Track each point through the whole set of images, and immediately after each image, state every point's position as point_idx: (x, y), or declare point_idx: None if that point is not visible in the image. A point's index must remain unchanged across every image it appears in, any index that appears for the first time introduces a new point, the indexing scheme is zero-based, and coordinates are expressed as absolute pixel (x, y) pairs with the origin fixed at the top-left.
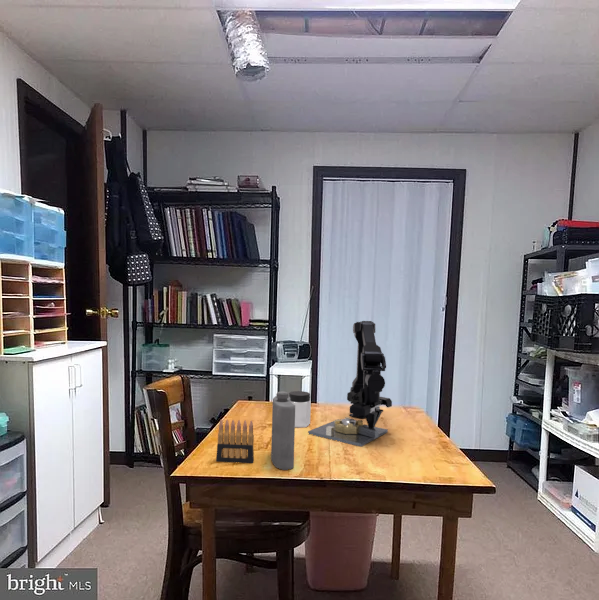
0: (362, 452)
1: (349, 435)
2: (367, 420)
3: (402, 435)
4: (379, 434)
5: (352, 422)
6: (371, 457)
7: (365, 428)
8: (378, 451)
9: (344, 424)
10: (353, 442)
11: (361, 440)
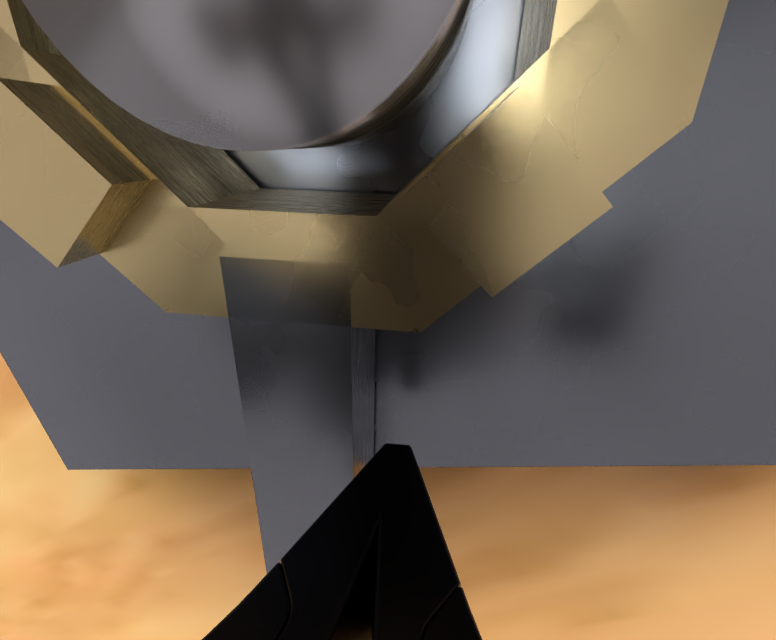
0: (22, 506)
1: None
2: (271, 595)
3: (765, 585)
4: (532, 459)
5: (173, 133)
6: (26, 576)
7: (252, 461)
8: (151, 571)
9: None
10: (29, 389)
11: (134, 429)
